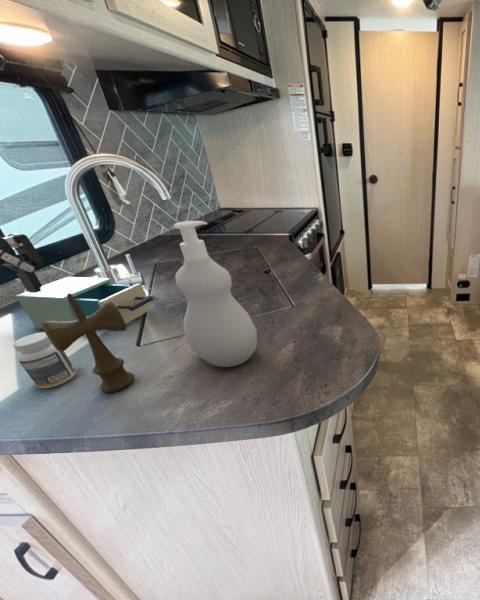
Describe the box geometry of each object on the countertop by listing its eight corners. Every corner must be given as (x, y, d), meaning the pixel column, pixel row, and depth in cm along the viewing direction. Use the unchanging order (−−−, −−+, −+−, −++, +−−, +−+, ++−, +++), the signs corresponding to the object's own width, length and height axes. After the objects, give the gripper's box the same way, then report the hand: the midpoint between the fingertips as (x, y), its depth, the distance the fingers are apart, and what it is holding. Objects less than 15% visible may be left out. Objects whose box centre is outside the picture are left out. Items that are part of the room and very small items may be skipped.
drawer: (166, 309, 87) (156, 284, 84) (132, 330, 78) (119, 302, 74) (113, 306, 89) (100, 281, 86) (72, 326, 80) (57, 299, 76)
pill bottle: (48, 374, 65) (21, 334, 60) (83, 367, 66) (59, 328, 62) (30, 393, 60) (-1, 350, 55) (68, 385, 62) (41, 343, 57)
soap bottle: (276, 352, 70) (245, 220, 57) (231, 384, 61) (180, 235, 48) (227, 334, 77) (188, 213, 64) (179, 360, 68) (123, 225, 55)
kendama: (153, 377, 63) (110, 287, 54) (91, 407, 56) (29, 309, 47) (143, 366, 66) (100, 279, 57) (83, 392, 60) (24, 299, 50)
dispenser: (124, 309, 90) (110, 278, 86) (81, 331, 79) (62, 297, 75) (84, 306, 92) (67, 276, 87) (36, 328, 81) (15, 295, 77)
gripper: (-110, 218, 41) (-30, 324, 48) (20, 199, 53) (68, 286, 61) (-154, 217, 42) (-69, 321, 49) (-16, 199, 54) (35, 284, 62)
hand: (6, 301), depth 55 cm, fingers open, 8 cm apart
